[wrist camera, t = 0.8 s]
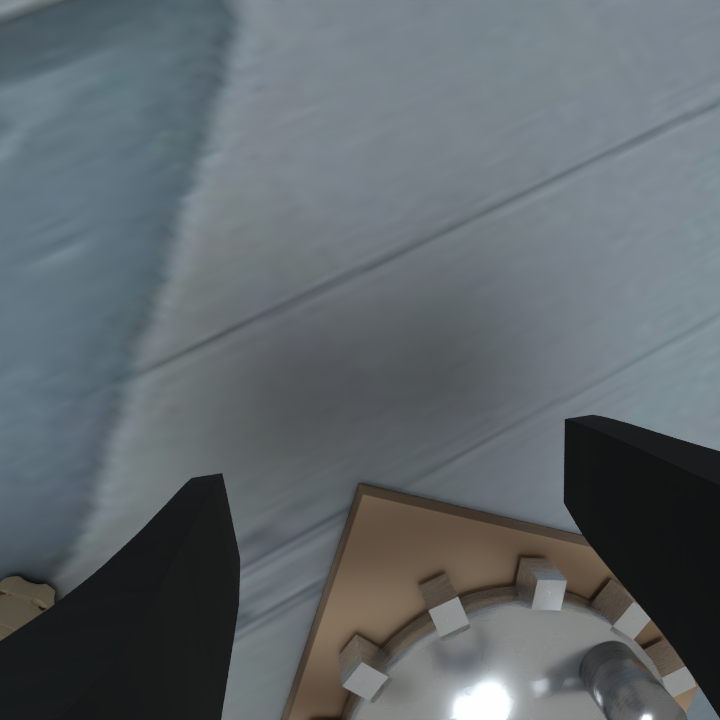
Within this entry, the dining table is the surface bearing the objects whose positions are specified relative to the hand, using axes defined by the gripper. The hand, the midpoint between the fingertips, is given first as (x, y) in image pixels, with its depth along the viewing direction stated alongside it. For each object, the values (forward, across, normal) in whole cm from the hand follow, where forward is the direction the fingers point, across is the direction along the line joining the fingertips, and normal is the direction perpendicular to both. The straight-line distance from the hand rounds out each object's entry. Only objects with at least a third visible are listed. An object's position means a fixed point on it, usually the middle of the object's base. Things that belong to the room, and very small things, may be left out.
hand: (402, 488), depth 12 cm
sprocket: (+7, -4, +17) cm, 19 cm away
